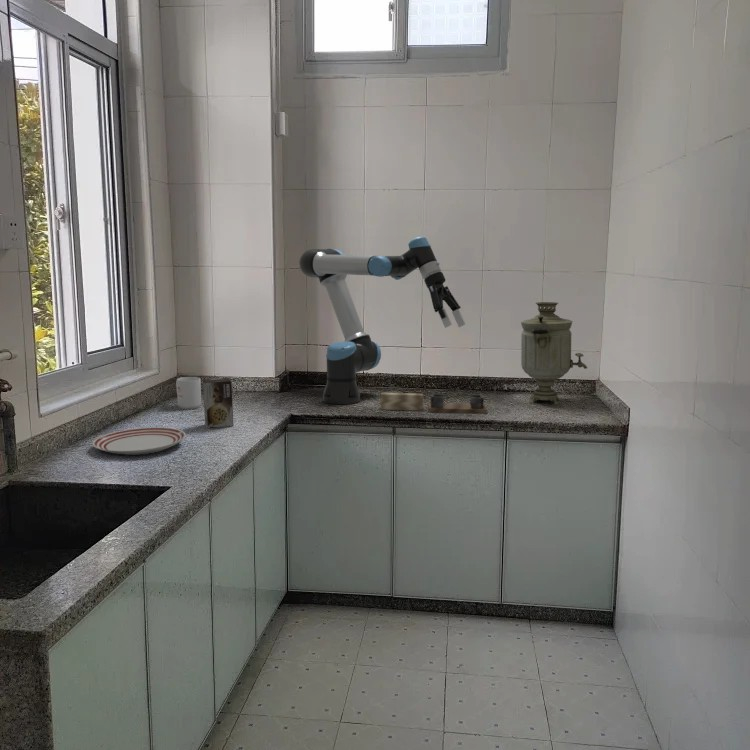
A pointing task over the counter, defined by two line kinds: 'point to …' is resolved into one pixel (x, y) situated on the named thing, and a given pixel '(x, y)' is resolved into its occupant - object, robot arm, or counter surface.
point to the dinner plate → (139, 440)
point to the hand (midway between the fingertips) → (455, 326)
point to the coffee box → (218, 402)
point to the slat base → (457, 405)
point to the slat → (402, 401)
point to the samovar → (547, 350)
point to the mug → (189, 392)
